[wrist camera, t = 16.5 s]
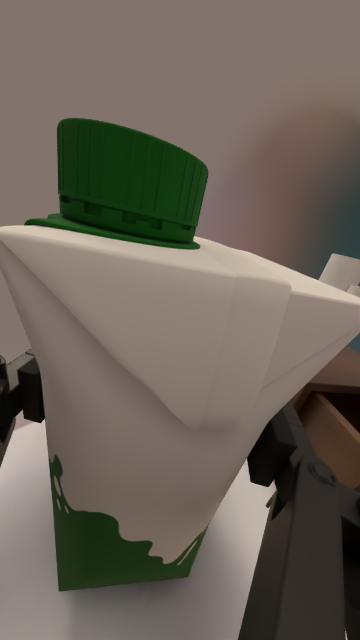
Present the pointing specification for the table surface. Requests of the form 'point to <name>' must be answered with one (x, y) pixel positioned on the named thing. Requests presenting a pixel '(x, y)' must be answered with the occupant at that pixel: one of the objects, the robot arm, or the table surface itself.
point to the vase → (342, 274)
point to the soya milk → (153, 352)
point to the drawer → (335, 432)
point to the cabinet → (333, 377)
